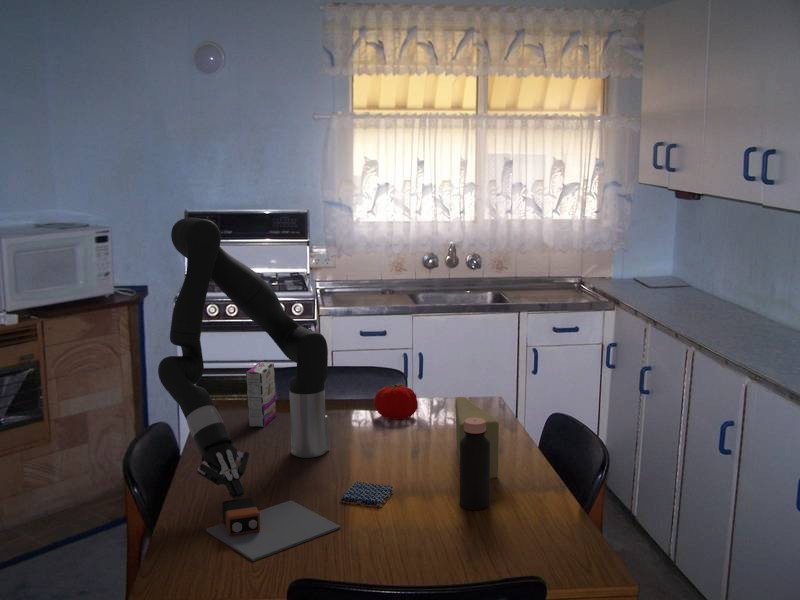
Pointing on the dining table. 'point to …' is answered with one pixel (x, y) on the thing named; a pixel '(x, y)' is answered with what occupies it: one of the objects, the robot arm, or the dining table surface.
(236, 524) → the battery
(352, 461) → the dining table surface
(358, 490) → the woven mat
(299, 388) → the robot arm
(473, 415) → the cheese
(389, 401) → the tomato
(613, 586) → the dining table surface
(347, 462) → the dining table surface
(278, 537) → the rubber mat
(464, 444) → the bottle
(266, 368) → the candy bar box
